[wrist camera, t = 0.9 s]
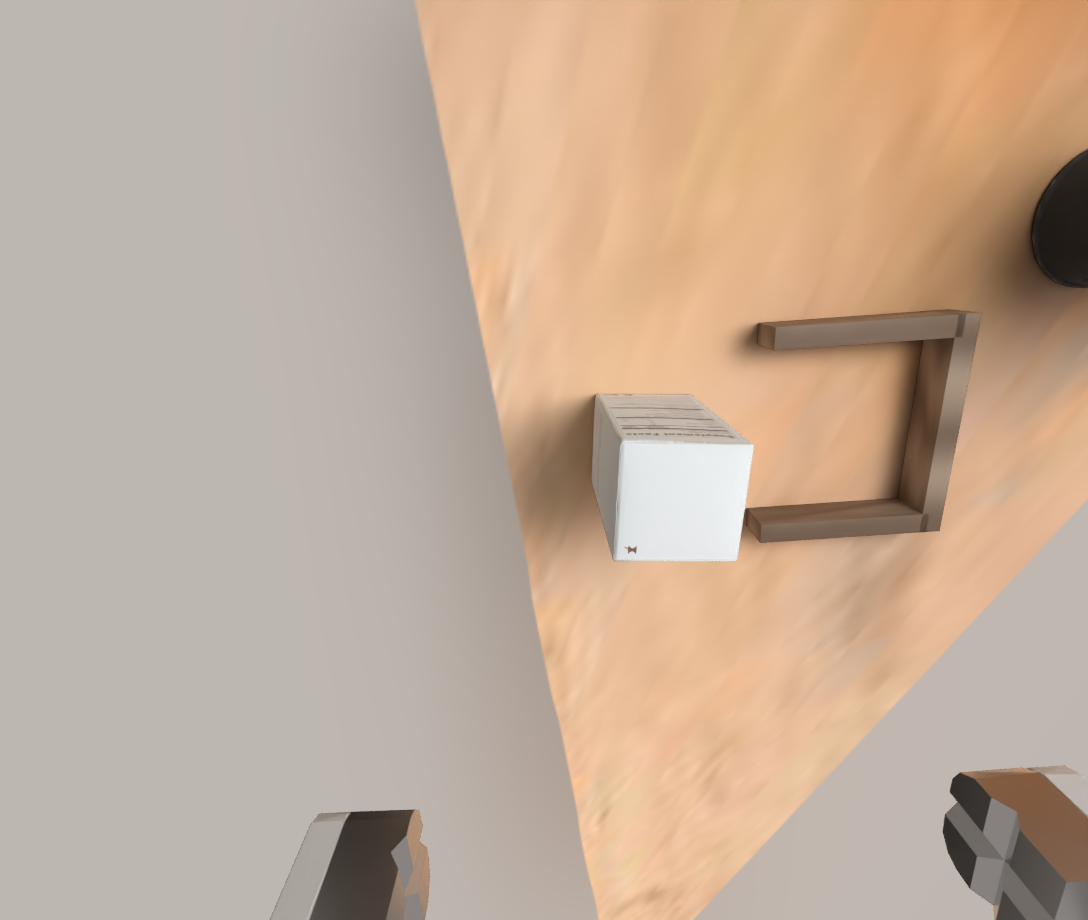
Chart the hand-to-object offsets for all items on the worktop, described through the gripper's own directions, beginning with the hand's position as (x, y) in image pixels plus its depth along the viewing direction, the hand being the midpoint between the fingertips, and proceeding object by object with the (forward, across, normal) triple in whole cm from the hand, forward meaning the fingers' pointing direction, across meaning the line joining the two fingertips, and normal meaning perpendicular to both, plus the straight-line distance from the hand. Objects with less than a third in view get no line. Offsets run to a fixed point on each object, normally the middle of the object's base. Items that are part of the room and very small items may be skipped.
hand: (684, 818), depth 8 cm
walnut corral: (+34, -21, +4) cm, 40 cm away
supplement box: (+34, -5, +4) cm, 35 cm away
